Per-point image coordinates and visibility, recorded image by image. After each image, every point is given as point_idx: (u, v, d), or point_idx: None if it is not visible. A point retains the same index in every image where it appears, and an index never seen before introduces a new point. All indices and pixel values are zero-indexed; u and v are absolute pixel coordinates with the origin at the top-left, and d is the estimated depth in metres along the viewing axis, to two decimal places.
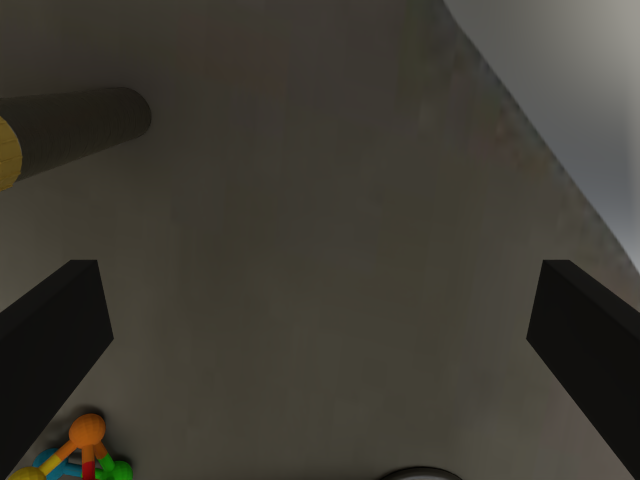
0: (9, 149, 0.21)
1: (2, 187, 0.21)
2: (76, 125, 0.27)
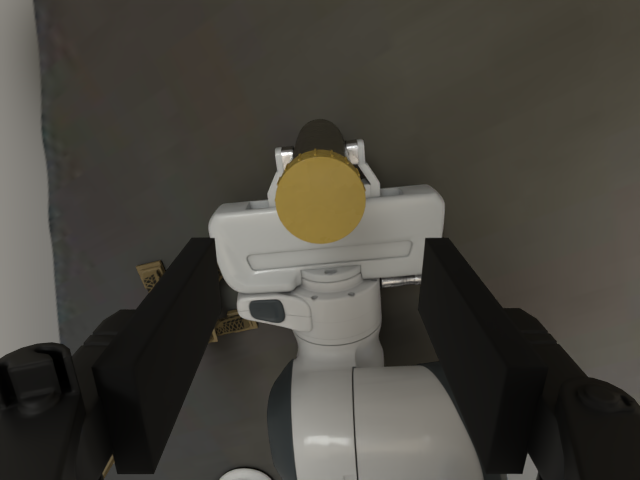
0: (292, 162, 0.23)
1: (329, 153, 0.23)
2: (296, 148, 0.29)
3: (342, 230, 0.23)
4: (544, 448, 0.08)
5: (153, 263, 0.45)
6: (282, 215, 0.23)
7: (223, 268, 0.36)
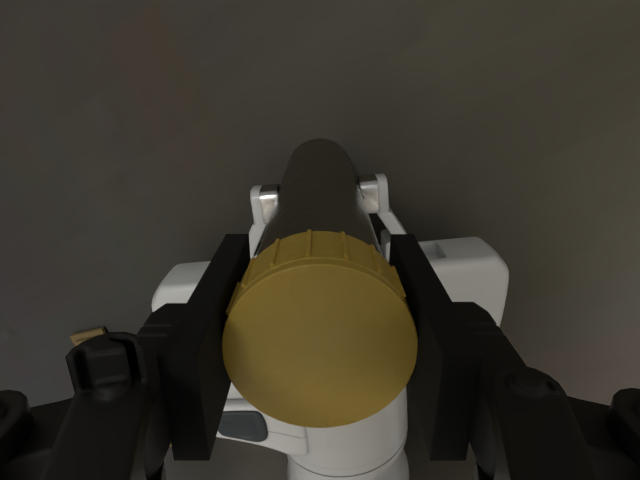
0: (260, 261, 0.11)
1: (339, 243, 0.11)
2: (278, 202, 0.17)
3: (366, 405, 0.11)
4: (480, 437, 0.08)
5: (93, 331, 0.33)
6: (238, 378, 0.11)
7: None
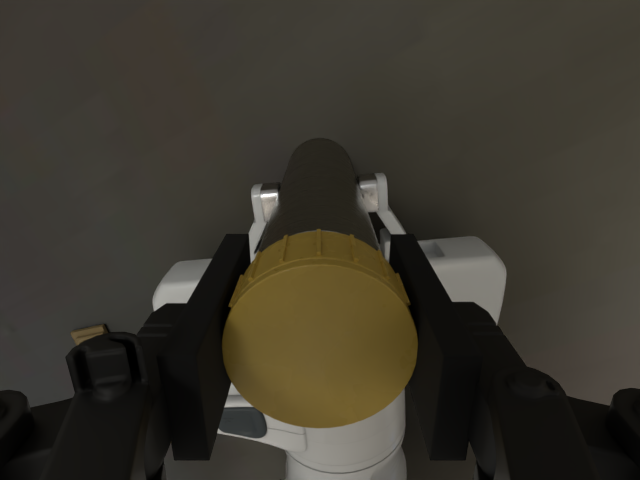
0: None
1: (236, 292, 0.11)
2: (279, 200, 0.17)
3: (395, 323, 0.10)
4: (480, 437, 0.08)
5: (93, 328, 0.34)
6: (332, 421, 0.11)
7: None
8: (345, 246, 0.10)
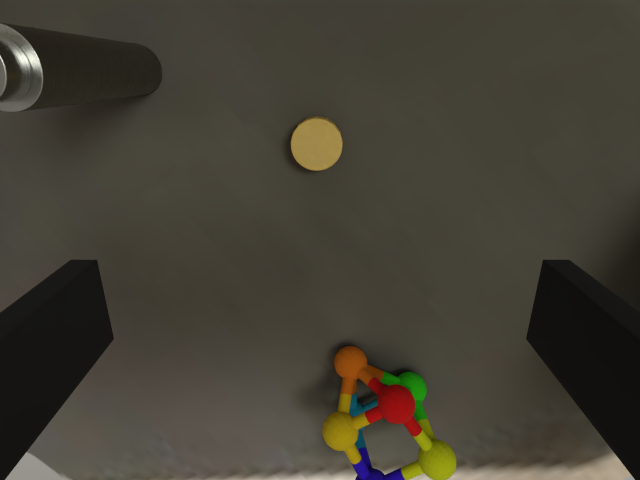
0: None
1: (293, 132, 0.40)
2: (71, 36, 0.27)
3: (335, 135, 0.39)
4: None
5: None
6: (320, 168, 0.40)
7: None
8: (323, 117, 0.39)
